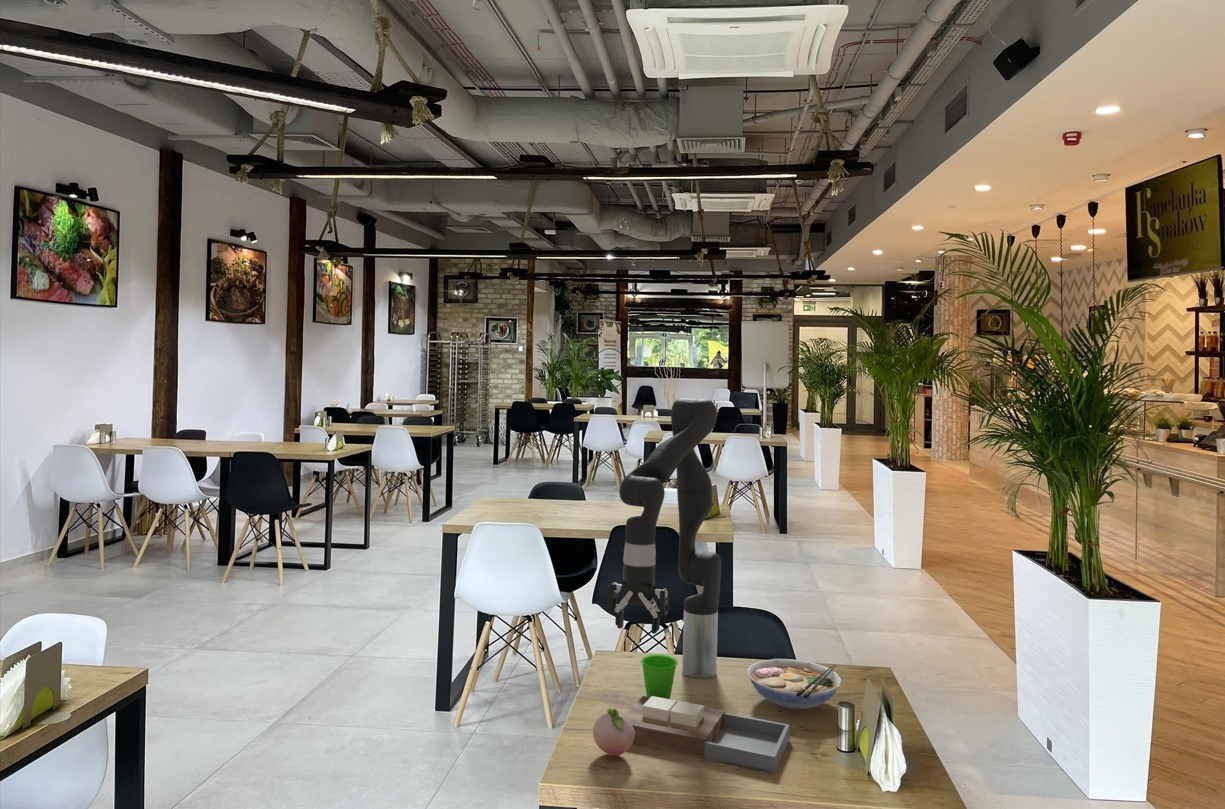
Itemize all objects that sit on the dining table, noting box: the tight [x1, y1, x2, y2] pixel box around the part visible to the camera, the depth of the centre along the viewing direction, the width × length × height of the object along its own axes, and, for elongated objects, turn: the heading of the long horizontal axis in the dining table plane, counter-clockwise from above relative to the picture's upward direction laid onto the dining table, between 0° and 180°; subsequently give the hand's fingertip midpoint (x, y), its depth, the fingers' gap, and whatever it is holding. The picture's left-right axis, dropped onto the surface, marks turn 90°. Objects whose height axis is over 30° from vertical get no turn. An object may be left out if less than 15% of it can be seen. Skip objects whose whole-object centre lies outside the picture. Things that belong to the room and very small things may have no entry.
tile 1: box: [643, 696, 678, 722], centre depth 181 cm, size 6×6×2 cm
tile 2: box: [670, 700, 705, 727], centre depth 178 cm, size 6×6×2 cm
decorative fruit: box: [592, 708, 635, 757], centre depth 169 cm, size 9×8×10 cm
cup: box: [640, 654, 678, 699], centre depth 195 cm, size 9×9×11 cm
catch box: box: [703, 712, 791, 775], centre depth 173 cm, size 17×15×4 cm
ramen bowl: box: [746, 658, 842, 711], centre depth 198 cm, size 25×23×8 cm
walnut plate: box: [623, 695, 726, 759], centre depth 180 cm, size 16×20×4 cm
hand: (637, 630), depth 188 cm, fingers open, 8 cm apart
